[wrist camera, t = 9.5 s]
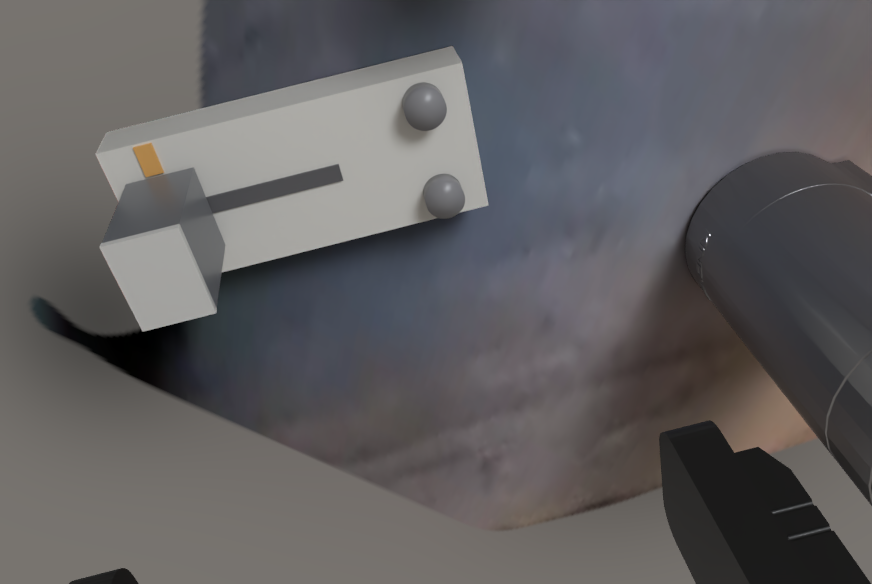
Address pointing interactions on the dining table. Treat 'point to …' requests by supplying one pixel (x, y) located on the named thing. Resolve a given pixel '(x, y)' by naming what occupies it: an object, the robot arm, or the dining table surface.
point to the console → (319, 157)
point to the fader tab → (165, 250)
